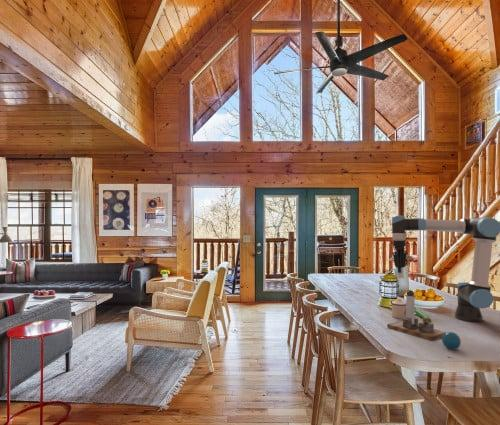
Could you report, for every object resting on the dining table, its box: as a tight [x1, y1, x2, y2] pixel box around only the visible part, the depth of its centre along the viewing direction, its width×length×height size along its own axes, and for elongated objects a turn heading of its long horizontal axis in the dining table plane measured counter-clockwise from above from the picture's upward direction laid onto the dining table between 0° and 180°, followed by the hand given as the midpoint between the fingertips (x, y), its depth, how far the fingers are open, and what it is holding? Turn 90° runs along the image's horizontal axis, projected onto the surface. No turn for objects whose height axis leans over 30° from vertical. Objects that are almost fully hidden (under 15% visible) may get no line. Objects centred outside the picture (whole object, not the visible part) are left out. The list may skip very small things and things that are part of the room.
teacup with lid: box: [391, 298, 407, 320], centre depth 223 cm, size 12×9×12 cm
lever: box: [405, 289, 416, 325], centre depth 194 cm, size 4×4×19 cm
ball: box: [441, 331, 462, 350], centre depth 165 cm, size 8×8×8 cm
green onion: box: [414, 306, 432, 323], centre depth 226 cm, size 5×3×30 cm
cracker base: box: [386, 317, 446, 341], centre depth 191 cm, size 26×14×9 cm, turn 33°
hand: (400, 277), depth 214 cm, fingers closed
